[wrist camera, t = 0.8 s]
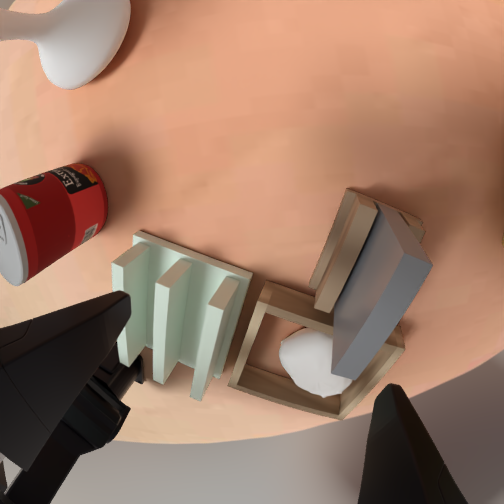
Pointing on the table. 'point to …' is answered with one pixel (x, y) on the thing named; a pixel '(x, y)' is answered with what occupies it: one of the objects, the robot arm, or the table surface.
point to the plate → (376, 292)
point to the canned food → (48, 219)
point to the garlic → (311, 362)
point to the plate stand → (348, 245)
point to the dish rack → (179, 308)
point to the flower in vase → (72, 37)
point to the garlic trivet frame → (284, 389)
